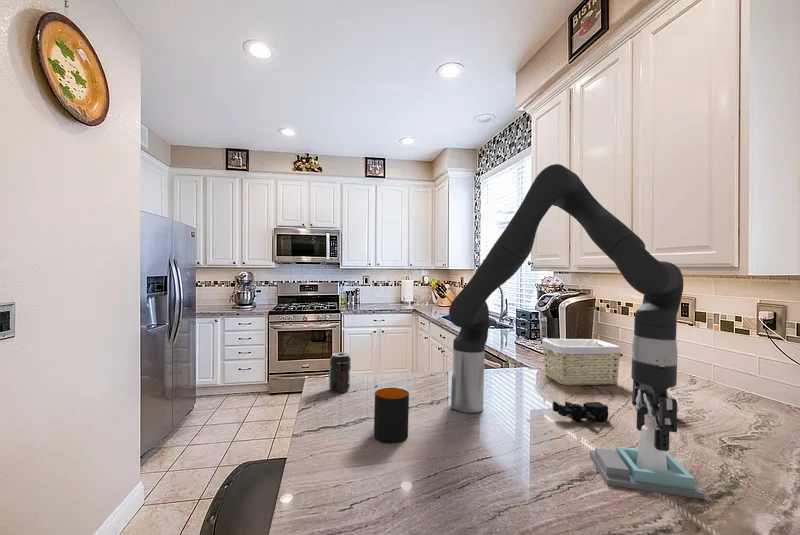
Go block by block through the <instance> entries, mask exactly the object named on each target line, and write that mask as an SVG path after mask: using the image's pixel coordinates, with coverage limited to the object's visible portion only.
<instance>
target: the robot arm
mask: <svg viewBox="0 0 800 535" xmlns="http://www.w3.org/2000/svg"><path fill="white" fill-rule="evenodd" d="M552 206H554V207H558V208H559V209H561V210H562V211H564V212H565V213H567V214H569V215H570V216H571V217H573V218H574V219H575V220H576V221H577V222H578V223H579V224H580V225H581V226H582V228H583V229H584V231H585V232H586V233H587V235H588V237H589V238H590V239H591V241H592V242H593V243H594V244H595V246H597V247H598V249H600V250H601V251H602V253H604V255H606V257H607V258H609V259H610V261H612V262H613V263H614V264H615V266H616V268H617V269H618V271H619V272H620V274H621V275H622V277H623V278H624V279H625V281H626V282H627V283H628V284H629V285H630V286H631V288H632V289H634V290H636V292H638V293H640V294H642V295H643V298H642V304H641V306H640V307H638V309H636V311H635V314H634V321H633V322H634V325H633V327H634V329H633V341H632V345H631V346H632V347H631V373H630V374H631V375H630V376H631V379H632V398H631V404H632V406H634V410H635V412H636V424H635V425H636V429H637V430H638V431H639V432H641V428H642V426H643V425H645V417H644V415H645V414H649V416H650V417H651V418H652V419H653V421H654V426H655V434H654V447H655V448H656V449H657V450H661V451H666V452H669V450H670V433H678V412H677V403H678V401H677V400H676V398H674V399H670V398H668V394H667V393H668V389H671V388H675V387H676V386H677V383H678V379H677V378H678V345H677V344H678V343H677V326H678V325H677V315H678V313H679V310H680V306H681V301H682V298H683V292H684V276H683V273H682V271H681V270H680V268H679V267H678V266H677V265H676V264H674V263H673V262H672V263H671V262H670V261H664V260H663V261H662V260H658V259H657V258H655V257H654V256H653V255H652V254H651V253H650V252H649V251H648V250H647V249H646V244H645V242H644V241H643V239H641V238H640V237H639V236H638V234H636V233H635V232H634V231H633V230H631V229H630V228H629V227H628V226H627V225H626V224H624V222H622V221H621V220H620V219H619V218H618V217H616V216H615V215H614V214H612V213H611V212H610V211H608V210H607V209H606V207H604V206H603V205H602V204H601V203H600V202H599V201H598V200H597V199H596V198H595V196H593V195H592V194H591V192H590V191H589V189H588V188H587V187H586V185H585V184H584V182H583V181H582V179H581V178H580V177H579V175H577V173H575V172H574V171H572V170H570V169H569V168H567V167H565V166H564V165H562V164H560V163H559V164H558V163H552V164H549V165H548V166H546V167H544V168H542V170H541V171H540V172H539V173H538V175H536V177H535V179H534V181H533V182H532V183H531V185H530V187H529V189H528V191H527V193H526V195H525V196H524V198H523V200H522V202H521V204H520V206H519V207H518V209H517V210H516V211H515V213H514V215H513V217H512V218H511V219H510V221H509V222H508V224H507V226H506V228H505V229H504V231H503V232H502V233H501V234H500V236H499V237H498V238H497V240H496V241H495V243H494V244H493V246H492V247H491V248H490V250H489V252H488V254H487V255H486V257H485V258H484V259H483V261H481V264H480V265H479V266H478V268H477V269H476V271H475V272H474V274H473V276H472V277H471V278H470V280H469V281H468V282H467V284H466V285H465V286H464V287H463V288H462V289H461V290H460V292H459V293H458V294H457V295H456V296H455V297H454V298H453V300H452V302H451V303H450V305H449V310H448V317H449V320H450V322H451V323H452V325H453V326H456V327H458V328H460V330H459V333H458V334H457V335H456V337H454V339H453V341H452V342H453V343H452V344H453V345H452V346H453V347H452V375H451V388H450V389H451V391H450V392H451V394H450V395H451V396H450V409H452V410H456V411H457V412H458V411H459V412H462V413H466V414H467V413H470V414H473V413H479V412H482V411H483V410H484V404H485V403H484V402H485V401H484V399H485V398H484V395H485V394H484V392H485V391H484V390H485V388H484V387H485V386H484V385H485V349H486V343H487V341H488V335H489V323H490V321H489V320H490V319H489V318H490V310H489V305H488V303H487V301H488V298H489V297H490V296H491V295H492V293H494V292H495V291H496V290H497V289H499V288H500V287H501V286H503V285H504V284H505V283H506V282H507V281H508V280H510V279H511V278H512V277H513V276H514V275H515V274H516V273H517V272H518V271H519V269H520V268H521V266H522V265H523V264H524V263H525V262H526V260H527V259H528V257H529V256H530V254H531V252H532V249H533V247H534V242H535V239H536V235H537V231H538V228H539V225H540V223H541V222H542V220H543V218H544V216H545V215H546V213H548V211H549V210H550V209H551V207H552ZM657 412H658V413H657ZM658 418H659V420H658Z"/></svg>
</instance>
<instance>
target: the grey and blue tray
mask: <svg viewBox="0 0 800 535" xmlns="http://www.w3.org/2000/svg"><path fill="white" fill-rule="evenodd" d="M615 449H616V450H613V449H605V448H598V447H594V450H589V456H590V458H591V459H592V461H593V463H594V465H595V467H596V468H597V470H598V472H599V473H600V476H601V477H602V479H603V481H604V482H605V484H606V485H607V486H611V487H612V486H613V487H620V488H626V489H633V490H639V491H645V492H646V491H647V492H653V493H661V494H667V495H673V496H674V495H675V496H681V497H688V498H693V499H694V498H695V499H699V500H700V499H701V500H705V492H703V490H701V489H700V488H699V487H698V485H696V478H695V477H694V475H692V474H691V473H690V472H689V471H688V470H687V469H686V468H685V467H683V465H682V464H681V463H679V462H678V460H677V459H675V457H674V456H673V455H671V454H670V452H666V460H667V469H668V472H661V471H653V470H646V469H638V468H637V466H636V463H637V456H638V449H639V448H633V447H632V448H631V447H624V446H615Z"/></svg>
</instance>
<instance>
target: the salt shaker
mask: <svg viewBox="0 0 800 535" xmlns="http://www.w3.org/2000/svg"><path fill="white" fill-rule="evenodd" d="M644 417H645V425H643V426H642V428H641V431H640V435H639V442H638V448H637V449H638V456H637V463H636V466H637V468H638V469H646V470H653V471H661V472H668V469H667V460H666V453H667V451H661V450H657V449H656V448H655V447H654V434H655V426H654V421H653V419H652V418H651V417H650V416H649V414H645V415H644ZM658 420H659V418H658Z"/></svg>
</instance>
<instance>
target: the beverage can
mask: <svg viewBox="0 0 800 535" xmlns="http://www.w3.org/2000/svg"><path fill="white" fill-rule="evenodd" d="M351 361H352V359H351V356H350V353H349V352H344V351H342V352H341V351H338V352H333V353H332V354H331V357H330V358H329V376H328V377H329V378H328V380H329V381H328V382H329V383H328V384H329V385H328V387H329V390H330V391H332V392H333V393H336V394H337V393H339V394H340V393H346V392H347V391H348V390H349V389H350V388H351V367H352V366H351V365H352V364H351Z"/></svg>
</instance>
